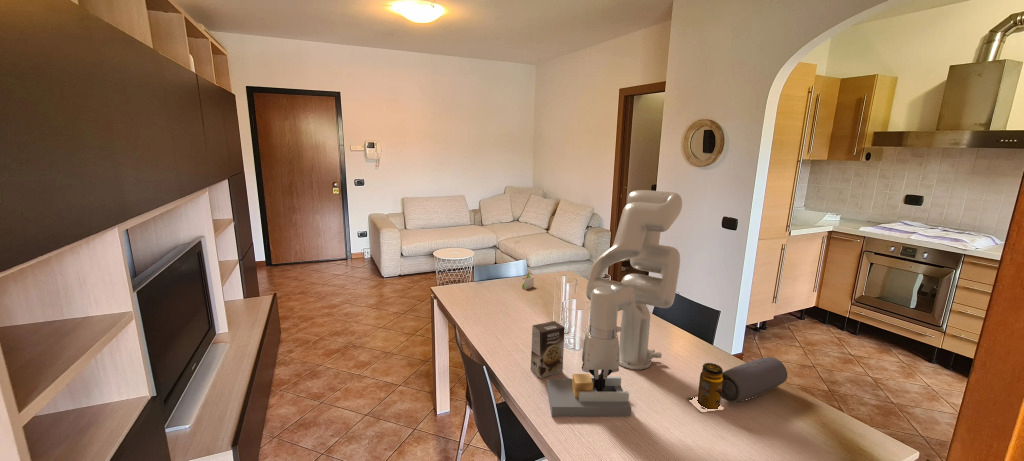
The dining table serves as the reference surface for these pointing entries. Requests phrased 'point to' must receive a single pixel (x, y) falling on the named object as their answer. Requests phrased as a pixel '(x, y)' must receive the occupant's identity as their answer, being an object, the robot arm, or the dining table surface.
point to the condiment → (710, 386)
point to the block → (581, 383)
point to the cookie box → (547, 349)
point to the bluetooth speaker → (752, 379)
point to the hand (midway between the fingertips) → (598, 389)
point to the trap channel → (588, 399)
